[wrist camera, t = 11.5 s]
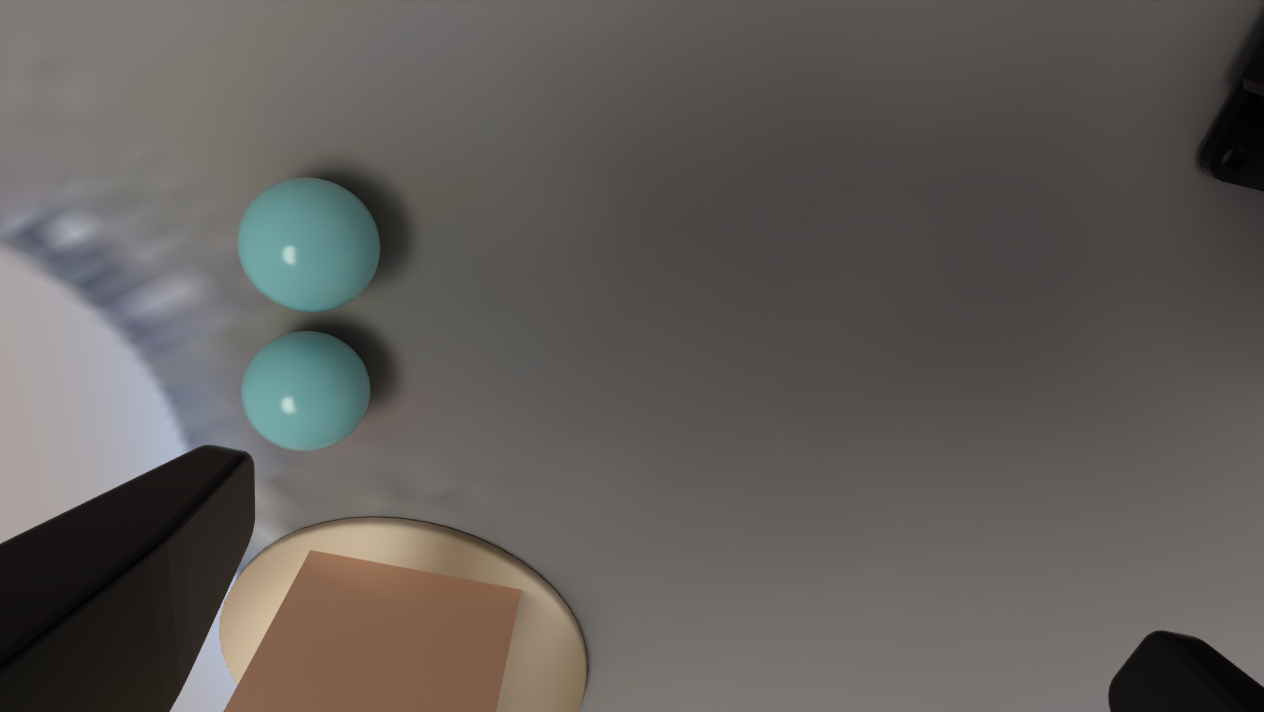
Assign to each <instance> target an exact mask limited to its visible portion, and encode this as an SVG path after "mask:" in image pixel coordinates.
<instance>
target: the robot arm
mask: <svg viewBox="0 0 1264 712" xmlns="http://www.w3.org/2000/svg"><path fill="white" fill-rule="evenodd" d="M1235 147H1236V149H1237V151H1236V154H1235V157H1234V158H1233V159H1232V160H1231V161H1230V162H1228V163H1226V164H1224V165H1222V160H1223V157H1224V155H1225V154H1226V153H1227V152H1228V151H1229V150H1231V149H1233V148H1235ZM1199 158H1200V166H1201V168H1202V170H1203V171H1204V172H1205V173H1207V174H1209V175H1211V176H1213V177H1215V178H1216V179H1218V180H1220V181H1223V182H1228V183H1232V184H1236V185H1240V186H1244V187H1248V188H1252V189H1257V190H1261V191H1264V39H1263V40H1262V42H1261V44H1260V46H1259V47H1258V49H1257V51H1256V52H1255V54H1254V56H1253V58H1252V59H1251V61H1250V63H1249V65H1248V66H1247V68H1246V70H1245V71H1244V73H1243V80H1242V82H1241V83H1240V85H1239V87H1238V89H1237V90H1236V92H1235V94H1234V96H1233V97H1232V99H1231V101H1230V102H1229V104H1228V106H1227V108H1226V109H1225V111H1224V113H1223V114H1222V116H1221V118H1220V120H1219V121H1218V123H1217V125H1216V127H1215V128H1214V130H1213V132H1212V133H1211V135H1210V137H1209V139H1208V140H1207V142H1206V144H1205V145H1204V147H1203V149H1202V152H1201V154H1200V157H1199ZM254 523H255V478H254V462H253V459H252V456H251V455H250V454H248V453H247V452H245V451H241V450H236V449H231V448H226V447H221V446H216V445H204V446H201V447H198V448H196V449H194V450H192V451H190V452H188V453H185V454H183V455H181V456H179V457H177V458H175V459H173V460H171V461H169V462H167V463H165V464H163V465H161V466H159V467H157V468H155V469H153V470H151V471H149V472H146V473H144V474H143V475H140V476H138V477H136V478H134V479H132V480H130V481H128V482H126V483H124V484H122V485H120V486H118V487H116V488H114V489H112V490H110V491H108V492H106V493H103V494H101V495H99V496H97V497H95V498H93V499H91V500H89V501H87V502H85V503H83V504H81V505H79V506H77V507H75V508H73V509H71V510H68V511H66V512H64V513H62V514H60V515H58V516H56V517H54V518H52V519H50V520H48V521H46V522H44V523H42V524H40V525H38V526H36V527H33V528H31V529H29V530H27V531H25V532H23V533H21V534H19V535H17V536H15V537H13V538H11V539H9V540H7V541H5V542H3V543H1V544H0V712H170V710H171V708H172V706H173V704H174V703H175V701H176V699H177V697H178V696H179V694H180V692H181V690H182V688H183V686H184V684H185V682H186V680H187V678H188V675H189V673H190V671H191V669H192V667H193V665H194V663H195V661H196V659H197V656H198V654H199V652H200V650H201V648H202V645H203V643H204V641H205V639H206V637H207V634H208V632H209V630H210V628H211V626H212V623H213V621H214V619H215V617H216V615H217V612H218V610H219V608H220V606H221V604H222V601H223V599H224V597H225V595H226V593H227V591H228V588H229V586H230V584H231V582H232V580H233V577H234V575H235V573H236V571H237V569H238V566H239V564H240V562H241V560H242V558H243V555H244V553H245V551H246V549H247V547H248V544H249V542H250V539H251V536H252V533H253V529H254ZM1108 698H1109V707H1110V711H1111V712H1264V687H1263V686H1261V685H1260V684H1259V683H1258V682H1256V681H1255V680H1254V679H1252V678H1251V677H1250V676H1248V675H1247V674H1246V673H1245V672H1243V671H1242V670H1241V669H1239V668H1238V667H1237V666H1236V665H1234V664H1233V663H1232V662H1230V661H1229V660H1228V659H1227V658H1225V657H1224V656H1223V655H1221V654H1220V653H1219V652H1217V651H1216V650H1215V649H1214V648H1212V647H1211V646H1210V645H1208V644H1207V643H1206V642H1204V641H1203V640H1201V639H1199V638H1196V637H1193V636H1190V635H1184V634H1179V633H1174V632H1169V631H1162V630H1161V631H1155V632H1152V633H1150V634H1149V635H1147V636H1146V637H1145V638H1144V639H1143V641H1142V642H1141V643H1140V644H1139V646H1138V647H1137V648H1136V650H1135V651H1134V652H1133V653H1132V655H1131V656H1130V657H1129V658H1128V660H1127V661H1126V662H1125V664H1124V665H1123V666H1122V667H1121V669H1120V670H1119V671H1118V672H1117V674H1116V675H1115V676H1114V678H1113V679H1112V681H1111V684H1110V687H1109V693H1108Z"/></svg>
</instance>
